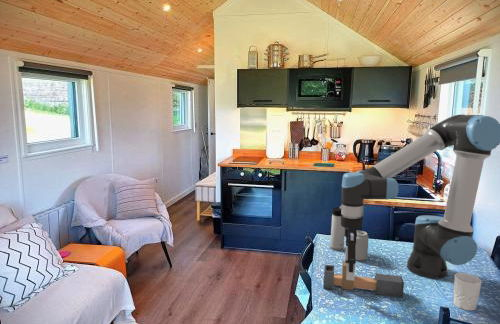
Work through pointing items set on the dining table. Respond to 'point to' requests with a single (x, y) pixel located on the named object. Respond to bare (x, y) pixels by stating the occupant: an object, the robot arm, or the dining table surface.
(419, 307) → the dining table surface
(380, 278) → the sleeve
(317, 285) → the dining table surface
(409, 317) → the dining table surface
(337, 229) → the travel mug
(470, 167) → the robot arm
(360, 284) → the l-shaped wooden block pair
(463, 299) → the white cup
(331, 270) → the socket
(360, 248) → the can
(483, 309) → the dining table surface
